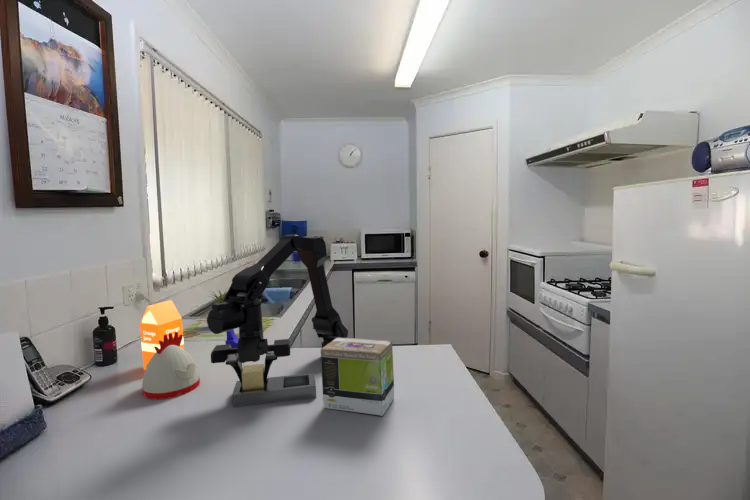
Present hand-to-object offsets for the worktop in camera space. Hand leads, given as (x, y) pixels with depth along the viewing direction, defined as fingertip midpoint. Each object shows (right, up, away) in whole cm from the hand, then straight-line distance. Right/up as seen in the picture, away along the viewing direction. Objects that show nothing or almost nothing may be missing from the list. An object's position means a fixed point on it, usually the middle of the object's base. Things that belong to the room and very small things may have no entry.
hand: (254, 383), depth 102 cm
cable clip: (-15, -1, +41) cm, 44 cm away
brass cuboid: (0, -1, 0) cm, 1 cm away
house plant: (-34, +2, +69) cm, 77 cm away
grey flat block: (+5, -3, +1) cm, 6 cm away
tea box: (+27, -4, -5) cm, 27 cm away
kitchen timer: (-25, -4, +8) cm, 26 cm away
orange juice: (-35, -3, +24) cm, 42 cm away
